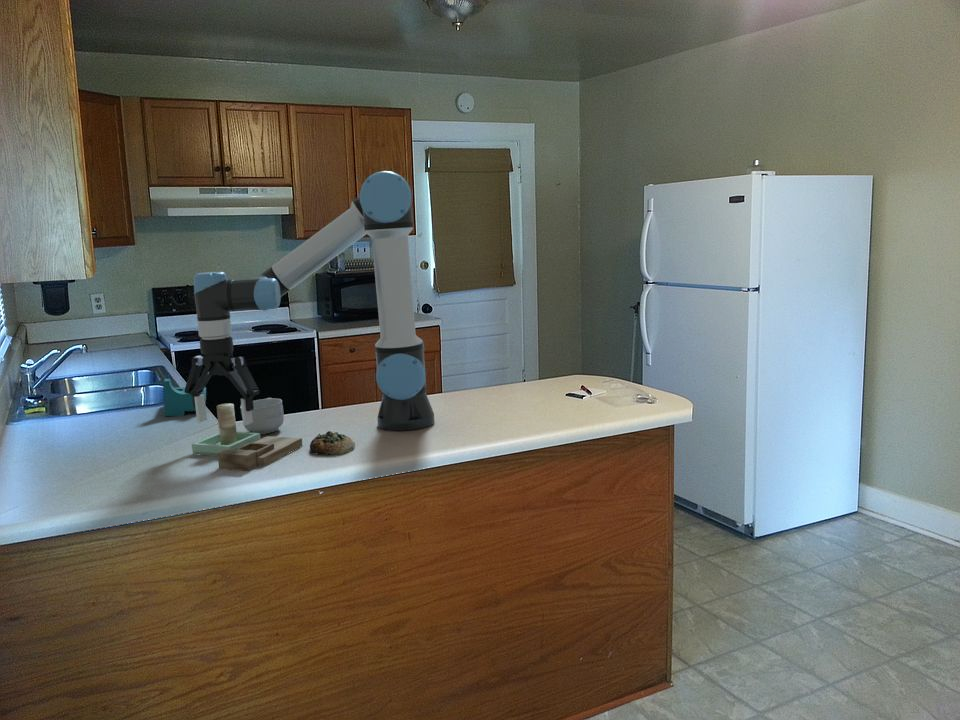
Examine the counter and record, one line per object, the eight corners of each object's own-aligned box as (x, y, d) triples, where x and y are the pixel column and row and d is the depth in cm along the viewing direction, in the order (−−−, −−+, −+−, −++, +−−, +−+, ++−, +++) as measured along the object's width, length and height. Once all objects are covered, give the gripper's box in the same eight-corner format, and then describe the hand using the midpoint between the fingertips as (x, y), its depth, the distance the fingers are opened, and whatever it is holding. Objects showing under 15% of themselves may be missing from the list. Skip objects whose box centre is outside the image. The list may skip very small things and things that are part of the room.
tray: (260, 442, 193) (260, 433, 192) (230, 456, 182) (229, 446, 181) (224, 440, 197) (223, 430, 196) (192, 454, 186) (191, 444, 185)
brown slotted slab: (302, 448, 189) (301, 433, 188) (264, 468, 174) (263, 452, 173) (267, 445, 192) (266, 431, 191) (227, 465, 177) (225, 450, 176)
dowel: (241, 442, 191) (237, 403, 190) (231, 447, 188) (226, 407, 186) (227, 442, 193) (223, 403, 191) (217, 446, 189) (213, 407, 187)
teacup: (273, 437, 197) (270, 407, 196) (234, 437, 200) (231, 407, 198) (296, 423, 211) (294, 395, 209) (260, 423, 213) (257, 395, 212)
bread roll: (299, 450, 185) (301, 429, 184) (337, 445, 193) (338, 426, 192) (327, 460, 177) (328, 439, 177) (365, 455, 185) (366, 434, 185)
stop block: (256, 466, 173) (255, 451, 173) (248, 470, 171) (247, 455, 170) (227, 464, 176) (225, 449, 176) (219, 468, 173) (217, 453, 173)
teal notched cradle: (203, 415, 228) (203, 380, 226) (164, 416, 225) (163, 381, 223) (206, 402, 245) (205, 370, 243) (169, 403, 242) (169, 370, 240)
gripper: (269, 334, 184) (277, 421, 187) (184, 334, 192) (193, 416, 196) (249, 339, 177) (258, 429, 180) (163, 338, 185) (173, 424, 189)
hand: (224, 422), depth 188 cm, fingers open, 13 cm apart
